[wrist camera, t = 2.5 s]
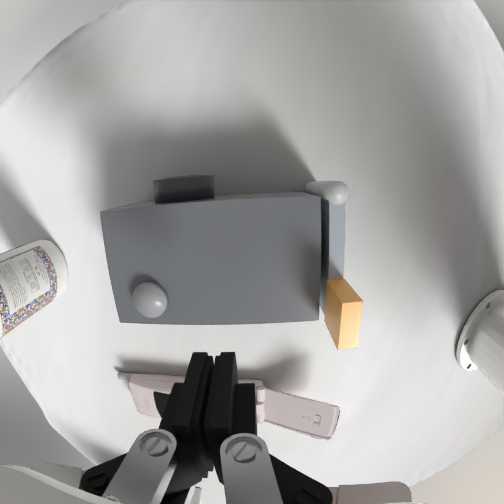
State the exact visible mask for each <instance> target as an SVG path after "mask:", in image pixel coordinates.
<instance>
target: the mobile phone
mask: <svg viewBox="0 0 504 504" xmlns="http://www.w3.org/2000/svg"><path fill="white" fill-rule="evenodd" d="M117 375H118V378H119V379H123V380H128V381H129V383H128V385H129V388H130V391H131V394H132V397H133V400H134V403H135V405H136V408H137V411H138V412H139V413H141V414H143V415H147V416H151V417H155V418H160V419H162V417H163V414H164V411H165V408H166V405H167V402H168V399H169V396H170V393H171V390H172V387H173V385H174V383H175V382H179V383H184V380H185V376H172V375H161V374H133V373H122V372H119V373H118V374H117ZM238 383H255V392H256V412H257V422H258V423H263V422H264V421H265V422H268V423H271V424H274V425H277V426H280V427H283V428H286V429H289V430H292V431H296V432H299V433H302V434H306V435H309V436H311V437H313V438H317V439H325V440H330V439H331V437H332V436H333V434H334V431H335V428H336V425H337V422H338V419H339V413H340V407H338V406H335V405H330V404H328V403H324V402H319V401H315V400H312V399H308V398H304V397H300V396H296V395H292V394H288V393H284V392H280V391H277V390H273V389H270V388H266V387H264V384H263V382H262V381H261V380H253V379H238Z"/></svg>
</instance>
